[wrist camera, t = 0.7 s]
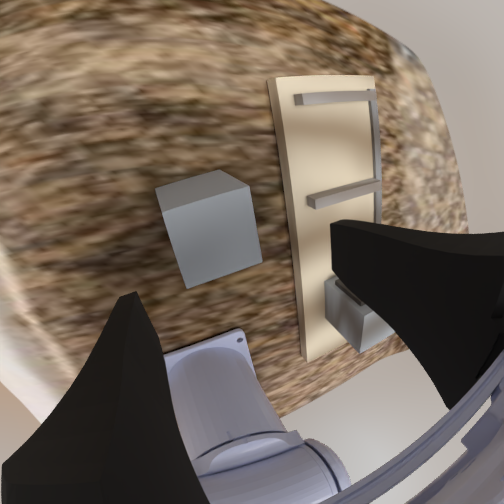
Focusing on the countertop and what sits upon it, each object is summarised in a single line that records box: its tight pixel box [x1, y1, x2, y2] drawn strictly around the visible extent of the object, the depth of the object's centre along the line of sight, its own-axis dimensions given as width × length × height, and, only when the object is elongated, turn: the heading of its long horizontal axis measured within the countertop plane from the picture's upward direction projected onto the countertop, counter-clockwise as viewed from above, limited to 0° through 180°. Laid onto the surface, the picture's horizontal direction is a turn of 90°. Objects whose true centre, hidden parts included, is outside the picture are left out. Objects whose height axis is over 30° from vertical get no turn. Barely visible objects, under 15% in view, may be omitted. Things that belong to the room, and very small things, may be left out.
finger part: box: [155, 170, 263, 289], centre depth 15 cm, size 4×4×5 cm
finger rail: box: [267, 75, 395, 363], centre depth 20 cm, size 24×8×6 cm, turn 12°
